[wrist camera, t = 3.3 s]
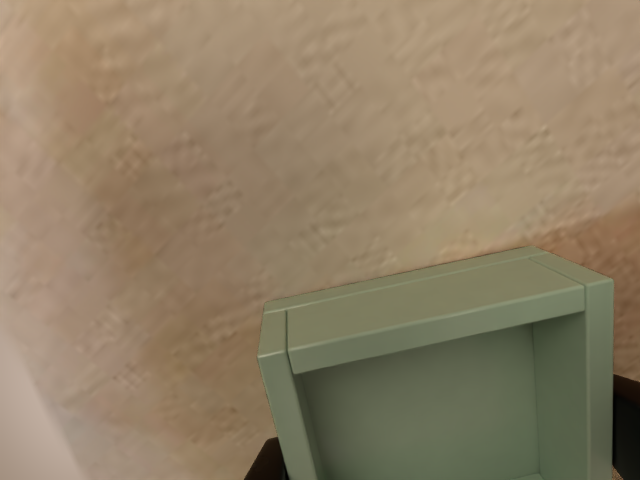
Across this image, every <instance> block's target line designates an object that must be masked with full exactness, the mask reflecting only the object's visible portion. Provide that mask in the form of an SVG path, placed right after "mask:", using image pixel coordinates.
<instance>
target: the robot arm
mask: <svg viewBox="0 0 640 480" xmlns="http://www.w3.org/2000/svg"><path fill="white" fill-rule="evenodd" d="M612 465H613V466H614V468H615V469H616V470H617V472H618V473H619V474H620V476H621V477H622V478H623V479H624V480H640V382H637V381H634V380H631V379H628V378H625V377H622V376H619V375H615V374H613V461H612ZM244 480H289V478H288V474H287V470H286V466H285V463H284V459H283V455H282V451H281V448H280V444H279V440H278V437H275V438H270V439H268V440H267V441H266V442H265V444H264V446H263V447H262V449H261V451H260V452H259V454H258V456H257V458H256V459H255V461H254V463H253V465H252V466H251V468H250V470H249V472H248V473H247V475H246V477H245V478H244Z"/></svg>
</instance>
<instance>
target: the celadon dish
mask: <svg viewBox="0 0 640 480" xmlns="http://www.w3.org/2000/svg"><path fill="white" fill-rule="evenodd" d="M613 353H614V280H613V279H612V278H610V277H608V276H605V275H603V274H601V273H598V272H596V271H593V270H591V269H589V268H586V267H584V266H581V265H579V264H577V263H574V262H572V261H570V260H567V259H565V258H562V257H560V256H558V255H555V254H553V253H549V252H547V251H545V250H543V249H540V248H538V247H535V246H527V247H523V248H518V249H513V250H508V251H504V252H499V253H494V254H490V255H485V256H480V257H475V258H471V259H466V260H461V261H457V262H452V263H447V264H442V265H438V266H433V267H428V268H424V269H419V270H414V271H409V272H405V273H400V274H395V275H391V276H386V277H381V278H376V279H372V280H367V281H362V282H358V283H353V284H348V285H343V286H339V287H334V288H329V289H325V290H320V291H315V292H311V293H306V294H301V295H296V296H292V297H287V298H282V299H278V300H273V301H268V302H265V303H264V309H263V316H262V323H261V330H260V338H259V345H258V352H257V361H258V365H259V368H260V372H261V376H262V380H263V384H264V387H265V391H266V395H267V399H268V402H269V406H270V410H271V414H272V417H273V421H274V425H275V429H276V433H277V436H278V440H279V444H280V448H281V451H282V455H283V459H284V463H285V466H286V470H287V474H288V478H289V480H612V461H613Z"/></svg>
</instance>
